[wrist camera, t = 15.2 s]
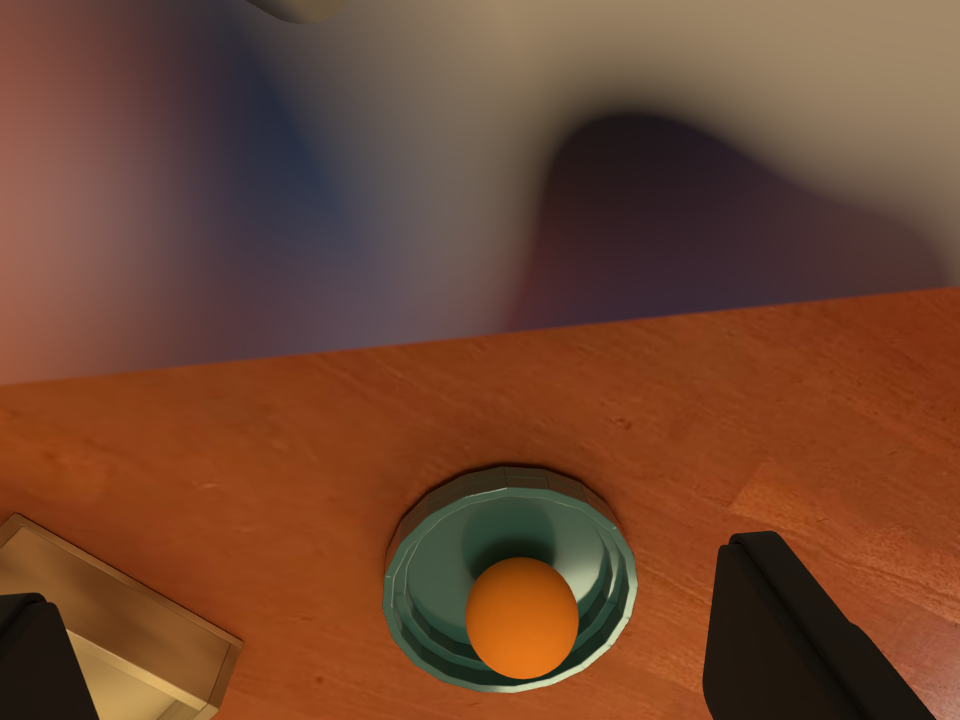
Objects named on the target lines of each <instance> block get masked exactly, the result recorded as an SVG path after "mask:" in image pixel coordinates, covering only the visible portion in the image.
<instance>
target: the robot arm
mask: <svg viewBox="0 0 960 720" xmlns="http://www.w3.org/2000/svg"><path fill="white" fill-rule="evenodd" d="M702 684H703V692H704V697H705V700H706V704H707V706H708V709H709V711H710V713H711V715H712V717H713V720H936V718H935V717H934V716H933V715H932V714H931V712H930V711H929V710H928V709H927V707H926V706H925V705H924V704H923V703H922V701H921V700H920V699H919V698H918V696H917V695H916V694H915V693H914V692H913V690H912V689H911V688H910V687H909V685H908V684H907V683H906V682H905V681H904V679H903V678H902V677H901V676H900V674H899V673H898V672H897V671H896V670H895V668H894V667H893V666H892V665H891V664H890V662H889V661H888V660H887V659H886V657H885V656H884V655H883V654H882V653H881V651H880V650H879V649H878V648H877V646H876V645H875V644H874V643H873V642H872V640H871V639H870V638H869V637H868V636H867V635H866V634H865V633H864V632H863V631H862V630H861V629H860V628H859V627H858V626H856V625H855V624H853V623H851V622H849V621H848V619H847V618H846V617H845V616H844V614H843V613H842V612H841V611H840V609H839V608H838V607H837V606H836V604H835V603H834V602H833V601H832V600H831V598H830V597H829V596H828V595H827V593H826V592H825V591H824V590H823V588H822V587H821V586H820V585H819V583H818V582H817V581H816V580H815V578H814V577H813V576H812V575H811V573H810V572H809V571H808V570H807V569H806V567H805V566H804V565H803V564H802V562H801V561H800V560H799V559H798V557H797V556H796V555H795V554H794V552H793V551H792V550H791V549H790V547H789V546H788V545H787V544H786V543H785V541H784V540H783V539H782V538H781V536H779V535H778V534H777V533H776V532H774V531H762V532H750V533H738V534H734V535H732V536H731V538H730V540H729V544H728V545H722V546H721V547H720V548H719V551H718V557H717V565H716V573H715V582H714V590H713V598H712V606H711V614H710V622H709V630H708V638H707V646H706V655H705V663H704V671H703V682H702ZM0 720H100V719H99V716H98V713H97V711H96V708H95V705H94V703H93V700H92V697H91V695H90V692H89V689H88V687H87V684H86V681H85V679H84V676H83V673H82V671H81V668H80V665H79V663H78V660H77V657H76V655H75V652H74V649H73V647H72V644H71V641H70V639H69V636H68V633H67V631H66V628H65V625H64V623H63V620H62V617H61V615H60V612H59V609H58V608H57V606H56V605H55V604H54V603H53V602H47V601H46V599H45V597H44V596H43V595H41V594H40V593H36V592H30V593H18V594H6V595H0Z"/></svg>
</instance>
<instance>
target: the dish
mask: <svg viewBox="0 0 960 720" xmlns="http://www.w3.org/2000/svg"><path fill="white" fill-rule="evenodd" d="M514 557H527V558H533V559H537V560H539V561H542V562H544V563H546V564H548V565H549V566H551V567H552V568H554V569H555V570H556V571H557V572H558V573H559V574H560V575H562V576H563V578H564V579H565V580H566V582H567V583H568V584H569V586H570V588H571V590H572V592H573V594H574V597H575V599H576V603H577V608H578V619H579V624H578V631H577V636H576V639H575V642H574V645H573V647H572V649H571V651H570V652H569V654H568V656H567V657H566V658H565V659H564V660H563V662H562V663H561V664H560V665H559V666H557V667H556V668H555V669H553V670H552V671H550V672H548V673H547V674H544V675H542V676H539V677H535V678H530V679H516V678H511V677H507V676H504V675H502V674H500V673H498V672H496V671H494V670H493V669H492V668H490V667H489V666H487V665H486V664H485V663H484V662H483V661H482V660H481V658H480V657H479V656H478V655H477V653H476V652H475V650H474V648H473V646H472V644H471V642H470V640H469V637H468V633H467V629H466V622H465V611H466V604H467V599H468V596H469V594H470V591H471V589H472V587H473V585H474V584H475V582H476V580H477V579H478V578H479V576H480V575H481V574H482V573H483V572H484V571H485V570H487V569H488V568H489V567H490V566H492V565H494V564H495V563H497V562H500V561H502V560H505V559H508V558H514ZM637 590H638V579H637V572H636V565H635V558H634V554H633V552H632V549H631V547H630V545H629V543H628V540H627V538H626V536H625V534H624V532H623V530H622V528H621V526H620V525H619V523H618V521H617V520H616V518H615V516H614V515H613V513H612V511H611V509H610V508H609V506H608V505H607V504H606V503H605V502H604V501H603V500H602V499H600V498H599V497H598V496H597V495H595V494H594V493H593V492H592V491H590V490H589V489H588V488H586V487H585V486H584V485H583V484H581V483H579V482H578V481H575V480H572V479H570V478H567V477H564V476H562V475H559V474H556V473H553V472H551V471H548V470H545V469H544V470H543V469H535V468H519V467H503V466H502V467H497V468H493V469H488V470H483V471H479V472H474V473H469V474H465V475H462V476H460V477H459V478H457V479H455V480H453V481H451V482H449V483H447V484H445V485H444V486H442V487H440V488H438V489H436V490H434V491H432V492H430V493H429V494H427V495H426V496H425V497H424V498H423V499H422V500H421V501H420V502H419V503H418V504H417V505H416V506H415V507H414V508H413V509H412V510H411V511H410V512H409V514H408V515H407V516H406V517H405V518H404V519H403V520H402V521H401V523H400V525H399V527H398V529H397V531H396V533H395V535H394V537H393V540H392V542H391V544H390V546H389V548H388V550H387V556H386V565H385V575H384V588H383V602H382V609H383V612H384V615H385V618H386V621H387V624H388V627H389V630H390V633H391V636H392V638H393V640H394V641H395V642H396V644H397V645H398V646H399V647H400V648H401V649H402V651H403V652H404V653H405V654H406V655H407V657H408V658H409V659H410V660H411V661H412V663H414V665H416V666H417V667H419V668H421V669H422V670H424V671H426V672H427V673H429V674H431V675H432V676H434V677H435V678H437V679H439V680H440V681H442V682H445V683H448V684H452V685H456V686H459V687H463V688H466V689H470V690H474V691H478V692H503V693H515V692H521V691H525V690H530V689H535V688H540V687H544V686H549V685H551V684H552V685H553V684H555V683H557V682H559V681H561V680H563V679H565V678H567V677H570V676H572V675H574V674H576V673H578V672H580V671H582V670H584V669H586V668H587V667H588V666H589V665H590V664H592V663H593V662H594V661H595V660H596V659H598V658H599V657H600V656H601V655H602V654H604V653H605V652H606V651H607V650H608V649H609V648H611V647H612V646H613V644H614V643H615V641H616V640H617V638H618V637H619V635H620V633H621V632H622V630H623V629H624V627H625V626H626V624H627V623H628V621H629V620H630V618H631V614H632V610H633V606H634V602H635V598H636V594H637Z"/></svg>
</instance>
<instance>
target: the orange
mask: <svg viewBox="0 0 960 720" xmlns="http://www.w3.org/2000/svg"><path fill="white" fill-rule="evenodd" d="M465 622H466V629H467V633H468V637H469V640H470V642H471V644H472V646H473V648H474V650H475V652H476V653H477V655H478V656H479V657H480V658H481V660H482V661H483V662H484V663H485V664H486V665H487V666H489V667H490V668H492V669H493V670H494V671H496V672H498V673H500V674H502V675H504V676H507V677H511V678H516V679H530V678H535V677H539V676H542V675H544V674H547V673H548V672H550V671H552V670H553V669H555V668H556V667H557V666H559V665H560V664H561V663H562V662H563V660H564V659H565V658H566V657H567V656H568V654H569V652H570V651H571V649H572V647H573V645H574V642H575V639H576V636H577V631H578V624H579V619H578V608H577V603H576V599H575V597H574V594H573V592H572V590H571V588H570V586H569V584H568V583H567V582H566V580H565V579H564V578H563V576H562V575H560V574H559V573H558V572H557V571H556V570H555V569H554V568H552V567H551V566H549V565H548V564H546V563H544V562H542V561H539V560H537V559H533V558H527V557H514V558H508V559H505V560H502V561H500V562H497V563H495V564H494V565H492V566H490V567H489V568H488V569H487V570H485V571H484V572H483V573H482V574H481V575H480V576H479V578H478V579H477V580H476V582H475V584H474V585H473V587H472V589H471V591H470V594H469V596H468V599H467V604H466V611H465Z"/></svg>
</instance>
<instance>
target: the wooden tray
mask: <svg viewBox="0 0 960 720" xmlns="http://www.w3.org/2000/svg"><path fill="white" fill-rule="evenodd" d="M30 592H36V593H40V594H41V595H43V596H44V597H45V599H46V601H47V602H53V603H54V604H55V605H56V606H57V608H58V609H59V612H60V615H61V617H62V620H63V623H64V625H65V628H66V631H67V633H68V636H69V639H70V641H71V644H72V647H73V649H74V652H75V655H76V657H77V660H78V663H79V665H80V668H81V671H82V673H83V676H84V679H85V681H86V684H87V687H88V689H89V692H90V695H91V697H92V700H93V703H94V705H95V708H96V711H97V713H98V716H99V719H100V720H210V719H211V718H212V717H213V716H214V715H215V714H216V713H217V712H218V711H219V709H220V706H221V704H222V701H223V698H224V695H225V692H226V690H227V687H228V684H229V681H230V678H231V676H232V673H233V670H234V667H235V664H236V662H237V659H238V656H239V653H240V650H241V648H242V645H243V641H241V640H239V639H237V638H236V637H234V636H232V635H230V634H229V633H227V632H225V631H223V630H222V629H220V628H218V627H216V626H214V625H213V624H211V623H209V622H207V621H206V620H204V619H202V618H200V617H199V616H197V615H195V614H193V613H192V612H190V611H188V610H186V609H185V608H183V607H181V606H179V605H178V604H176V603H174V602H172V601H170V600H169V599H167V598H165V597H163V596H162V595H160V594H158V593H156V592H155V591H153V590H151V589H149V588H148V587H146V586H144V585H142V584H141V583H139V582H137V581H135V580H134V579H132V578H130V577H128V576H127V575H125V574H123V573H121V572H119V571H118V570H116V569H114V568H112V567H111V566H109V565H107V564H105V563H104V562H102V561H100V560H98V559H97V558H95V557H93V556H91V555H90V554H88V553H86V552H84V551H83V550H81V549H79V548H77V547H75V546H74V545H72V544H70V543H68V542H67V541H65V540H63V539H61V538H60V537H58V536H56V535H54V534H53V533H51V532H49V531H47V530H46V529H44V528H42V527H40V526H39V525H37V524H35V523H33V522H32V521H30V520H28V519H26V518H24V517H23V516H21V515H19V514H17V513H15V514H13V515H12V516H11V517H10V518H9V519H8V520H7V521H6V522H5V523H4V524H3V525H2V526H1V527H0V595H6V594H18V593H30Z"/></svg>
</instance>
